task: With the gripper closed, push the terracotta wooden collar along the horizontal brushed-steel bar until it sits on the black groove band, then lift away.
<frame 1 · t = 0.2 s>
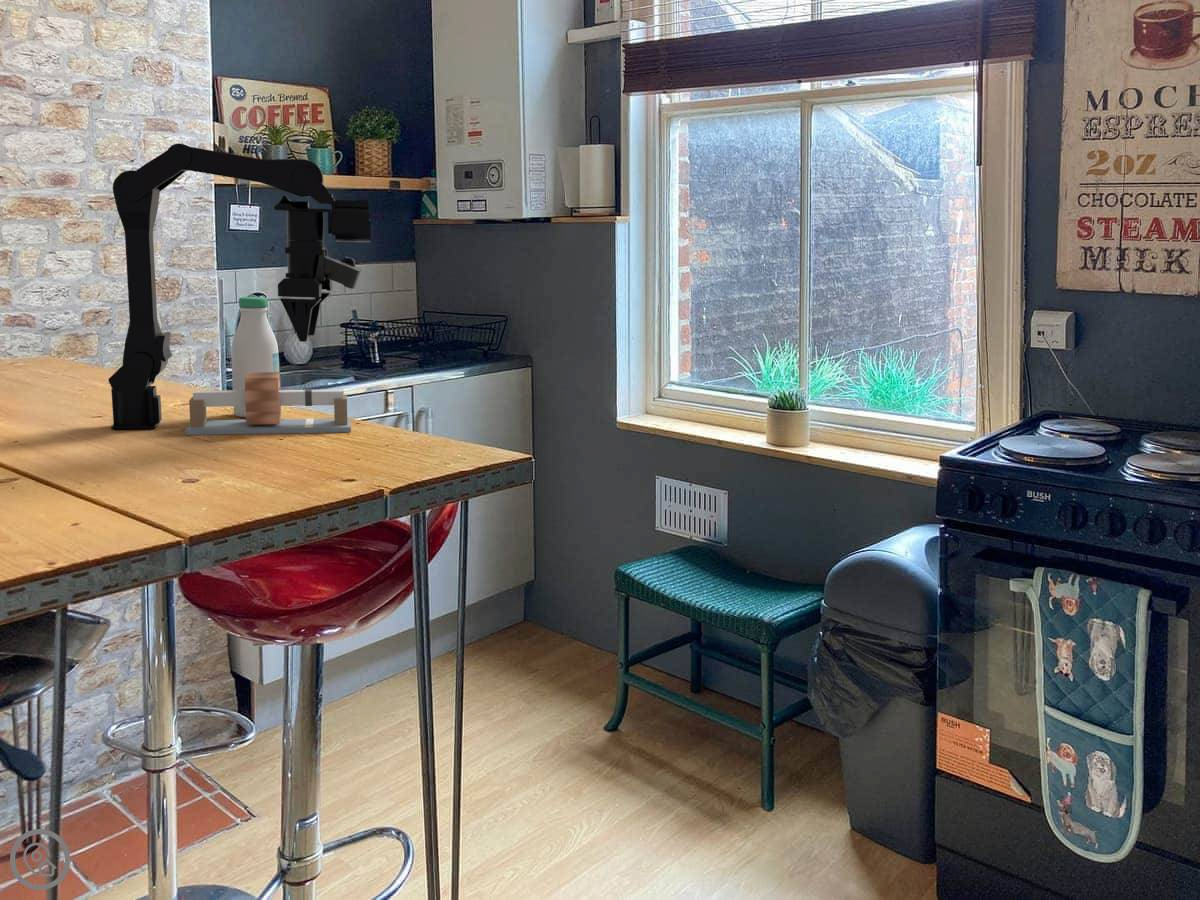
hand: (307, 338, 185), 14 cm above the table, fingers open, 9 cm apart
milk bottle: (257, 416, 195), on the table
collar: (263, 398, 182), point 5 cm above the table, slide at 0.0 cm
rail: (271, 428, 183), on the table
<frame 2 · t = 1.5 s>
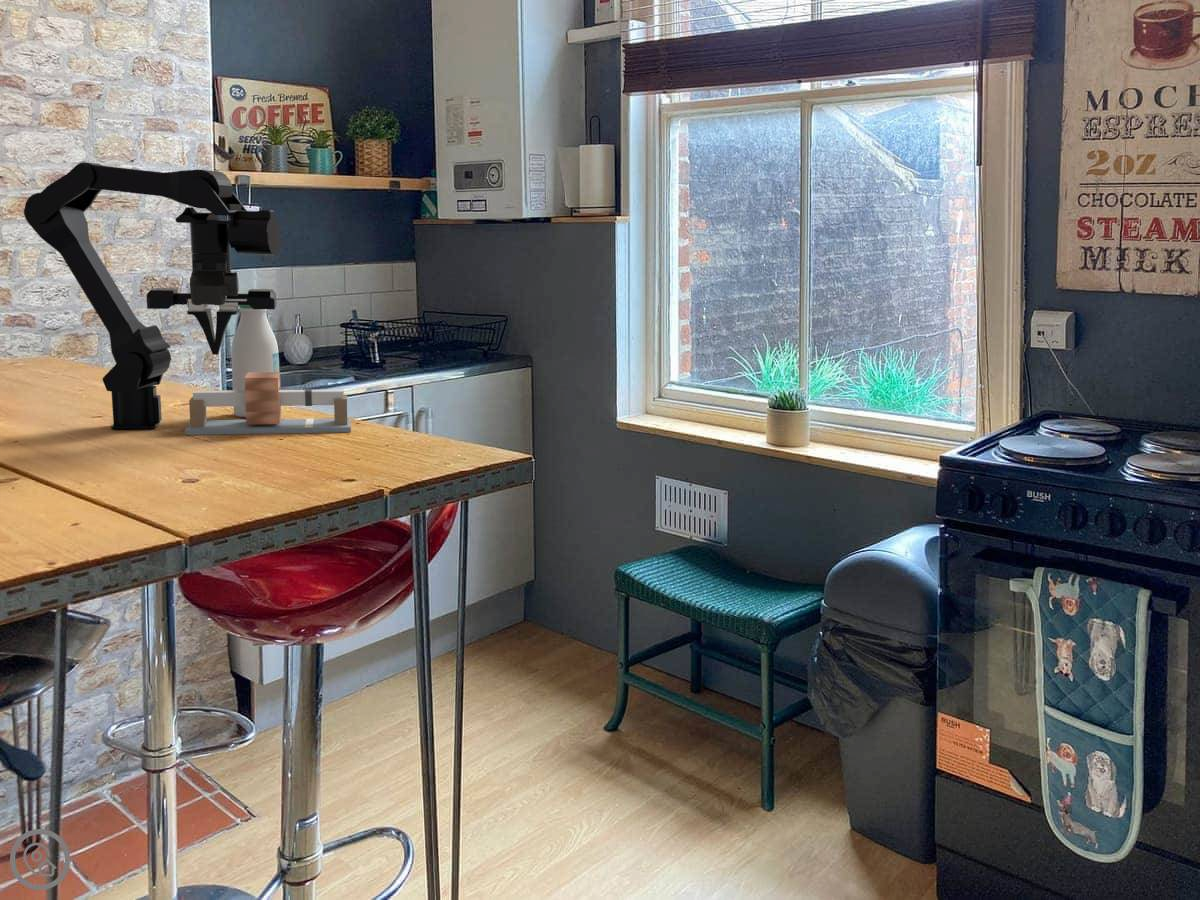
hand: (215, 354, 179), 12 cm above the table, fingers closed
nothing on the table moved.
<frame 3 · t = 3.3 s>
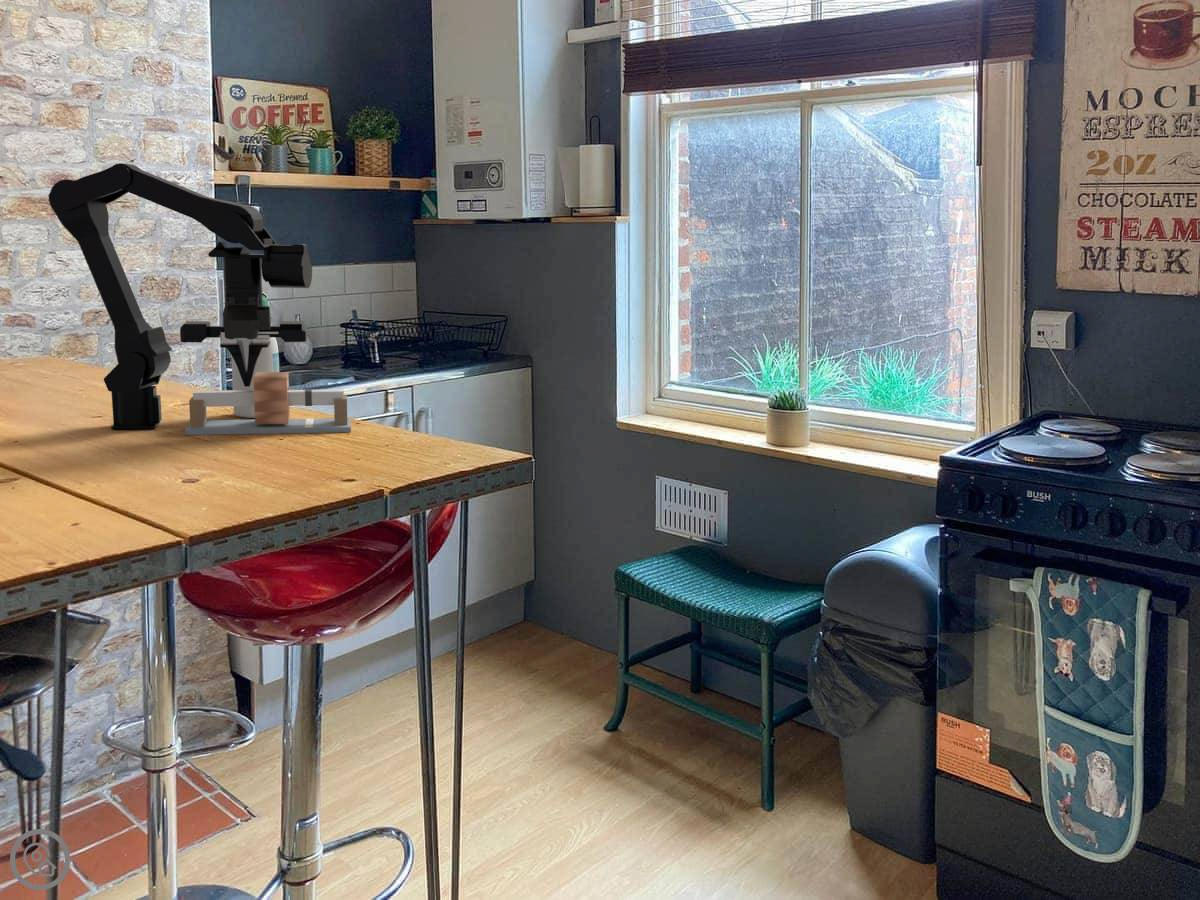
hand: (247, 386, 181), 7 cm above the table, fingers closed
collar: (272, 397, 182), point 5 cm above the table, slide at 1.3 cm, touching gripper
everything else where it was.
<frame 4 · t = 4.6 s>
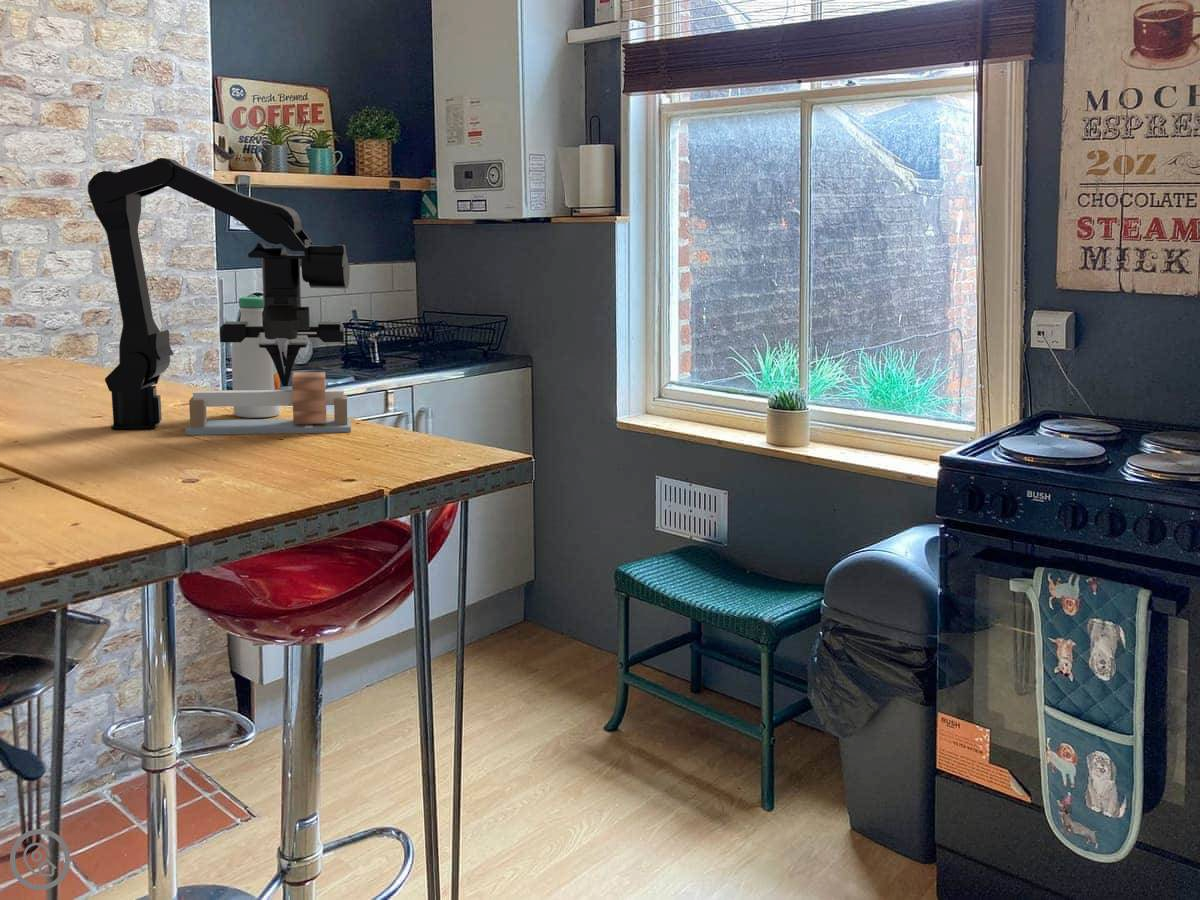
hand: (285, 386, 182), 7 cm above the table, fingers closed
collar: (309, 397, 183), point 5 cm above the table, slide at 7.1 cm, touching gripper
everything else where it was.
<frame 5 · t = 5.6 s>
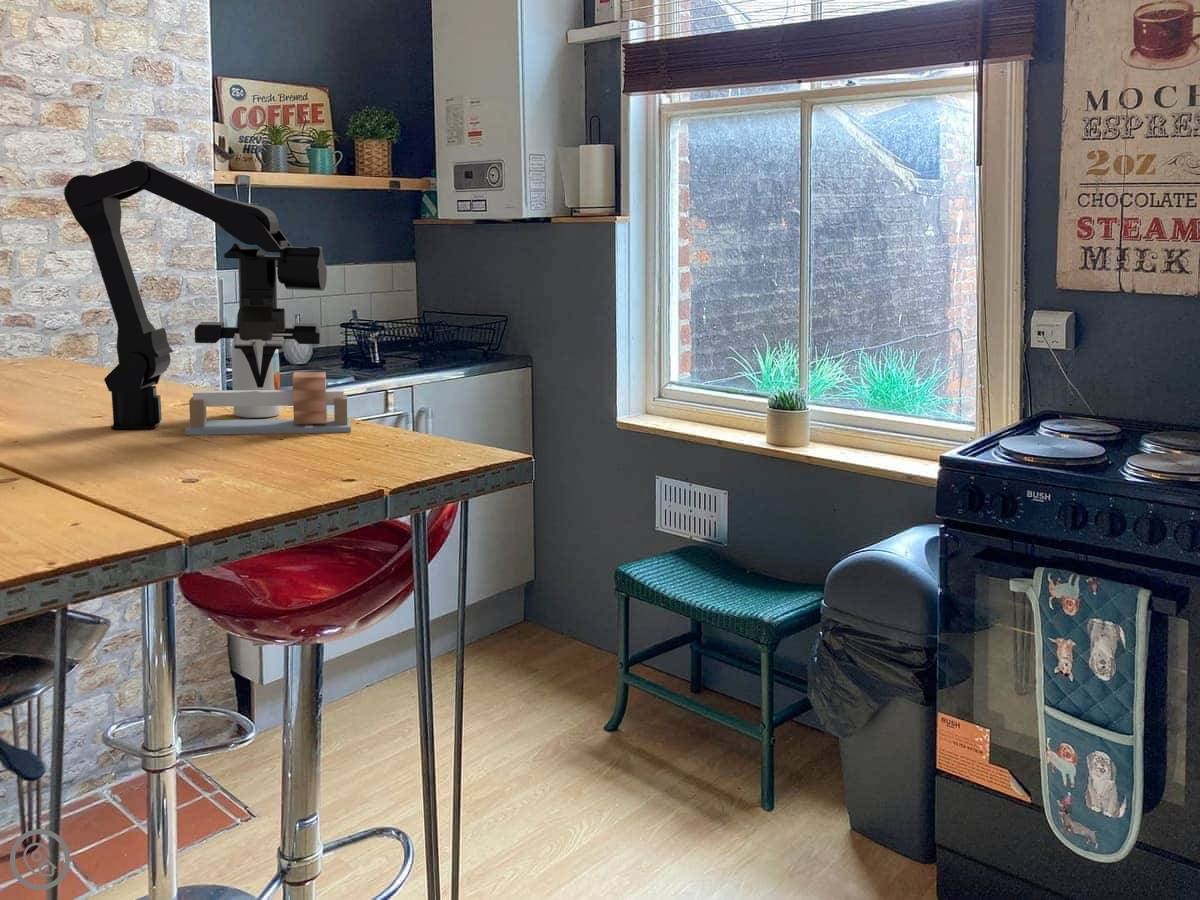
hand: (260, 387, 181), 7 cm above the table, fingers closed
collar: (310, 397, 183), point 5 cm above the table, slide at 7.2 cm
everything else where it was.
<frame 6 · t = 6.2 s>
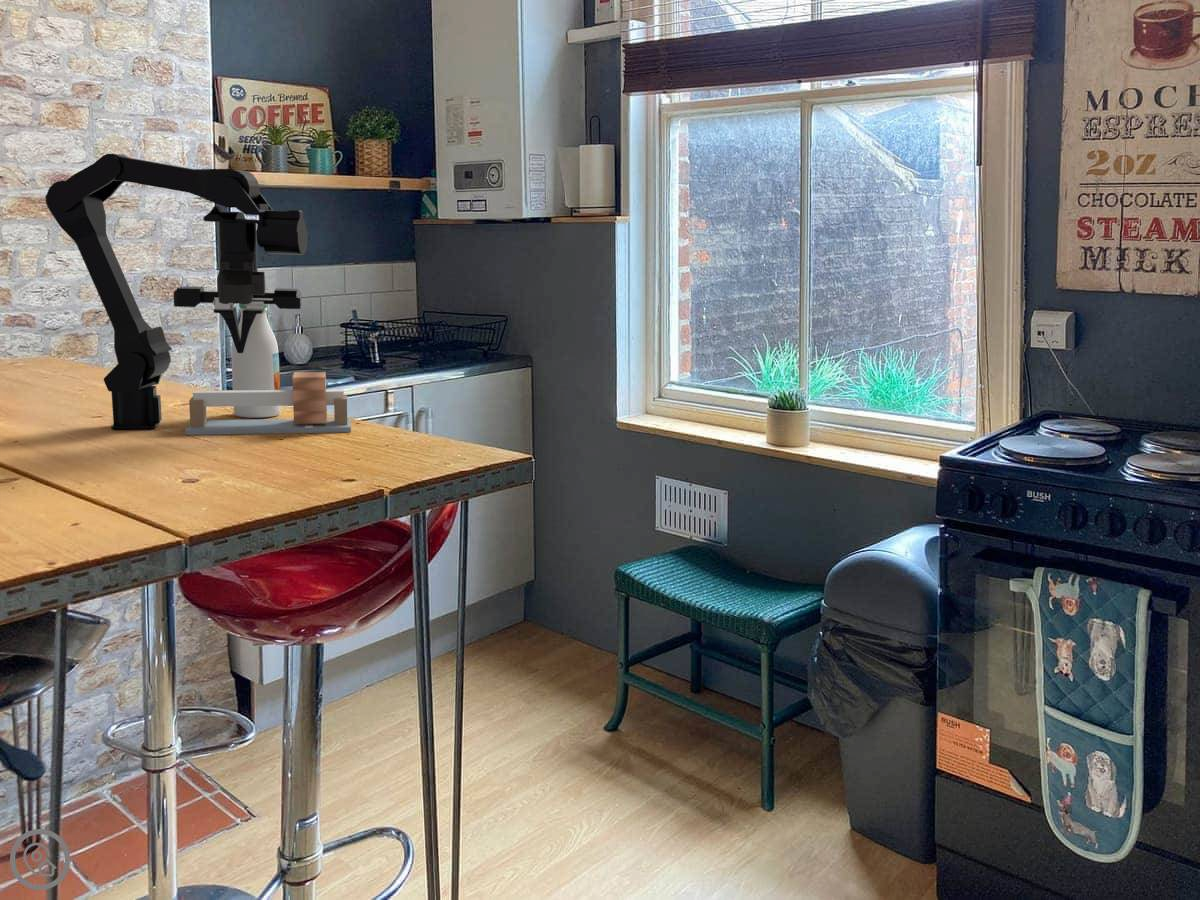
hand: (240, 352, 180), 12 cm above the table, fingers closed
nothing on the table moved.
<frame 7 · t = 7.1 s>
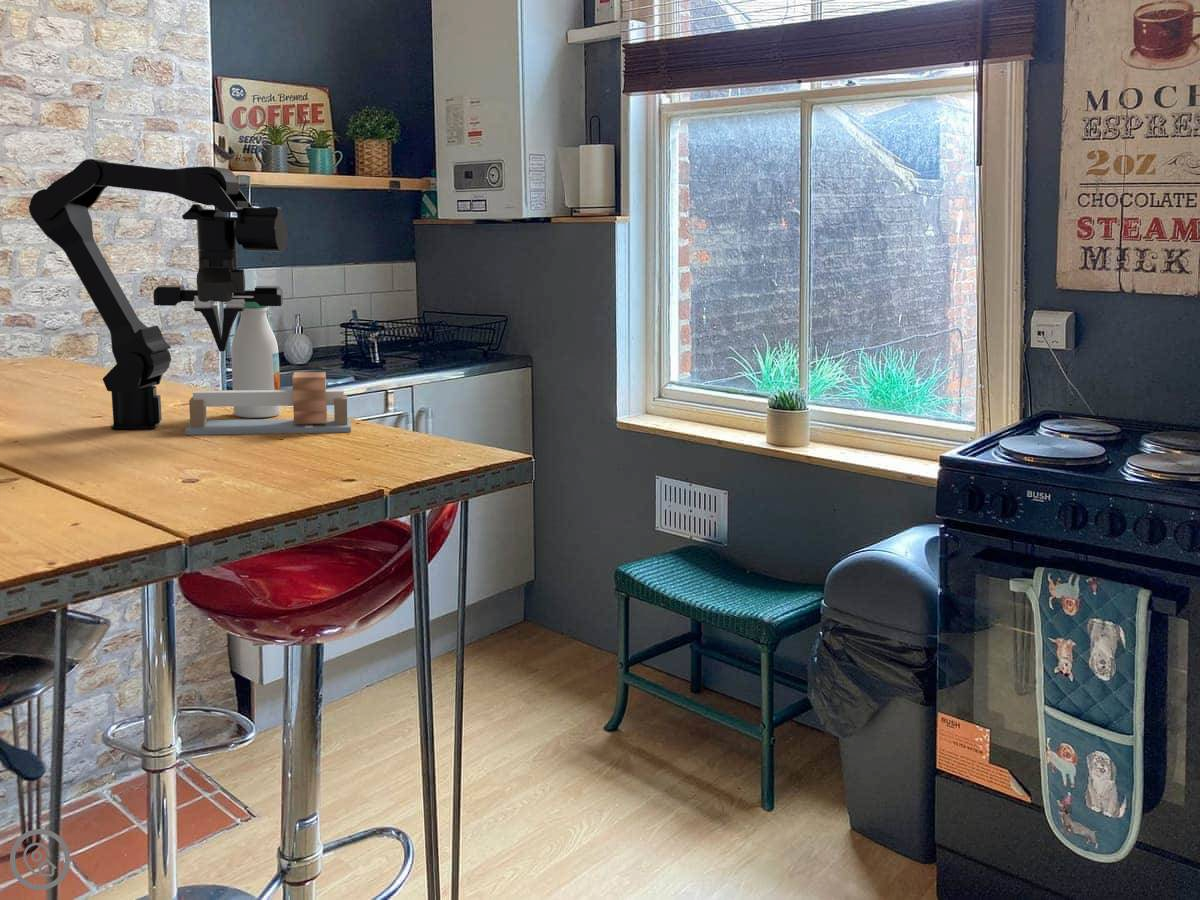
hand: (222, 351, 179), 13 cm above the table, fingers closed
nothing on the table moved.
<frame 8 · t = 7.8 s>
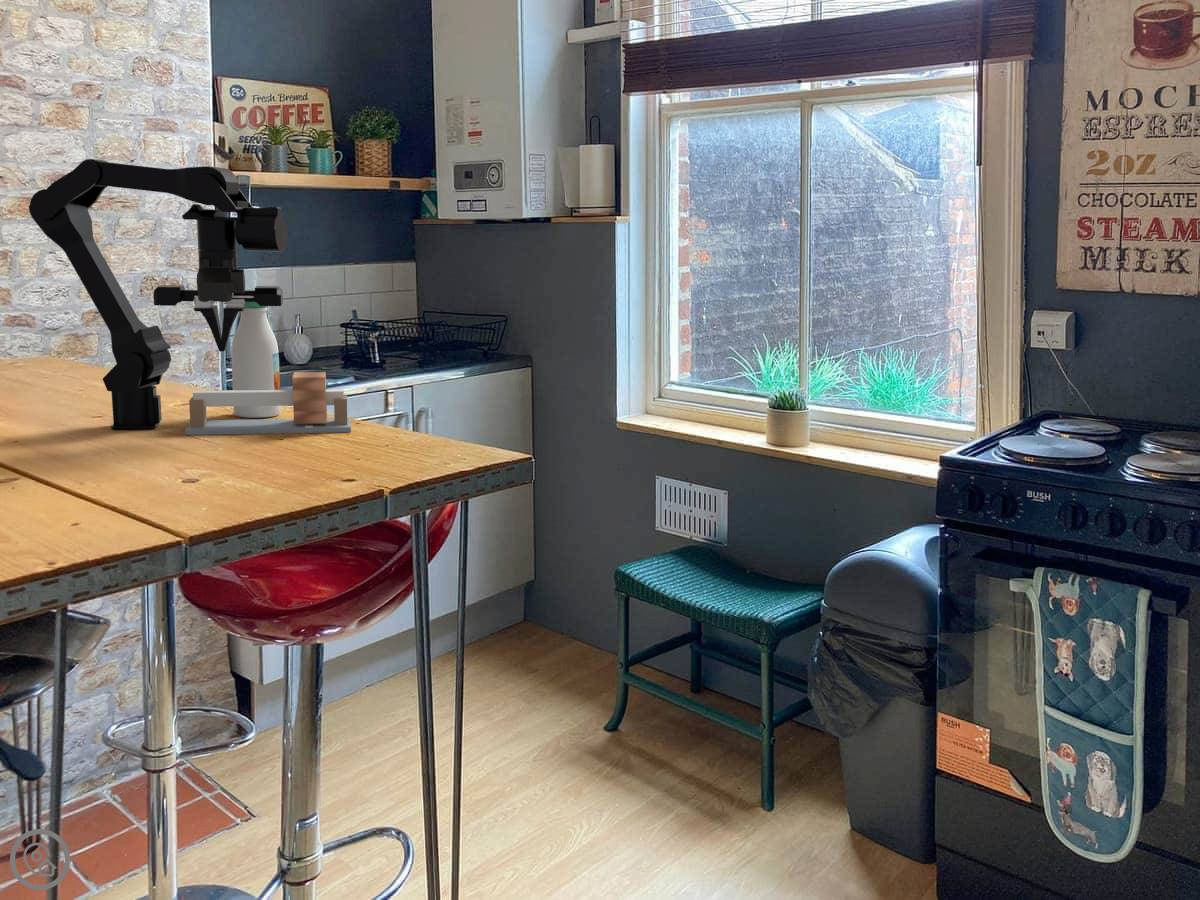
hand: (222, 351, 179), 13 cm above the table, fingers closed
nothing on the table moved.
at the end: collar slide at 7.2 cm; the gripper is holding nothing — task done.
